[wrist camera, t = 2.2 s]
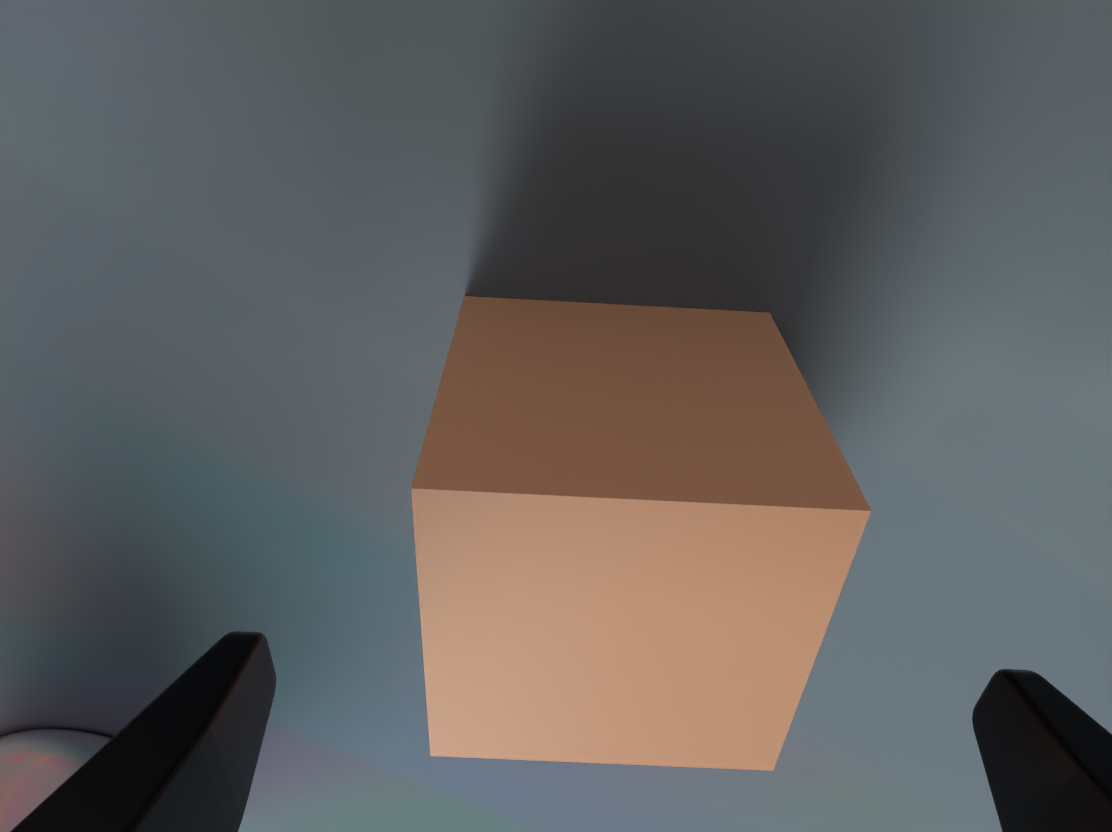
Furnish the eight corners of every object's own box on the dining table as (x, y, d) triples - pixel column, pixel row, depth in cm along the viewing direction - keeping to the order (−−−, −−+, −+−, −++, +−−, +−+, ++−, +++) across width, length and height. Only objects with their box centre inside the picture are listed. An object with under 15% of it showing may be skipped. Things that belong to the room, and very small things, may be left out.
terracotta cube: (768, 310, 12) (871, 510, 8) (716, 535, 15) (773, 770, 11) (464, 294, 12) (411, 488, 8) (468, 522, 15) (430, 755, 11)
